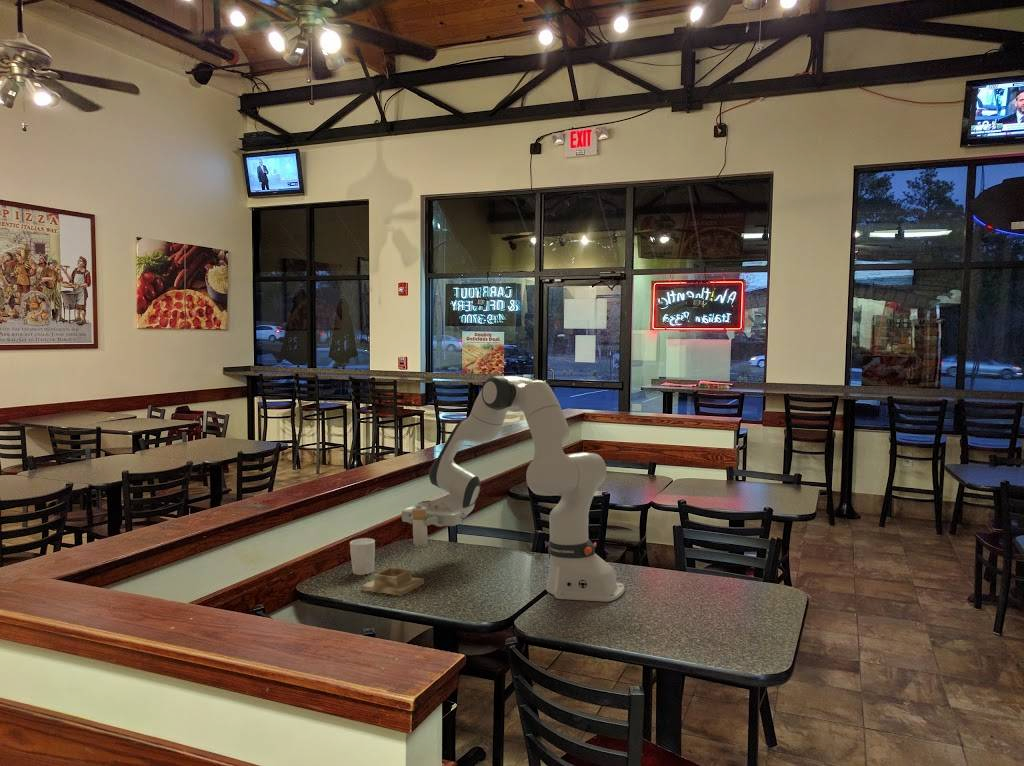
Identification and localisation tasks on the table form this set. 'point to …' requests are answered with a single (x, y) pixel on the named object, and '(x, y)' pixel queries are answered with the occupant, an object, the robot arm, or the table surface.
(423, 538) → the battery cell
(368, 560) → the white cup
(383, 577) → the charging dock
